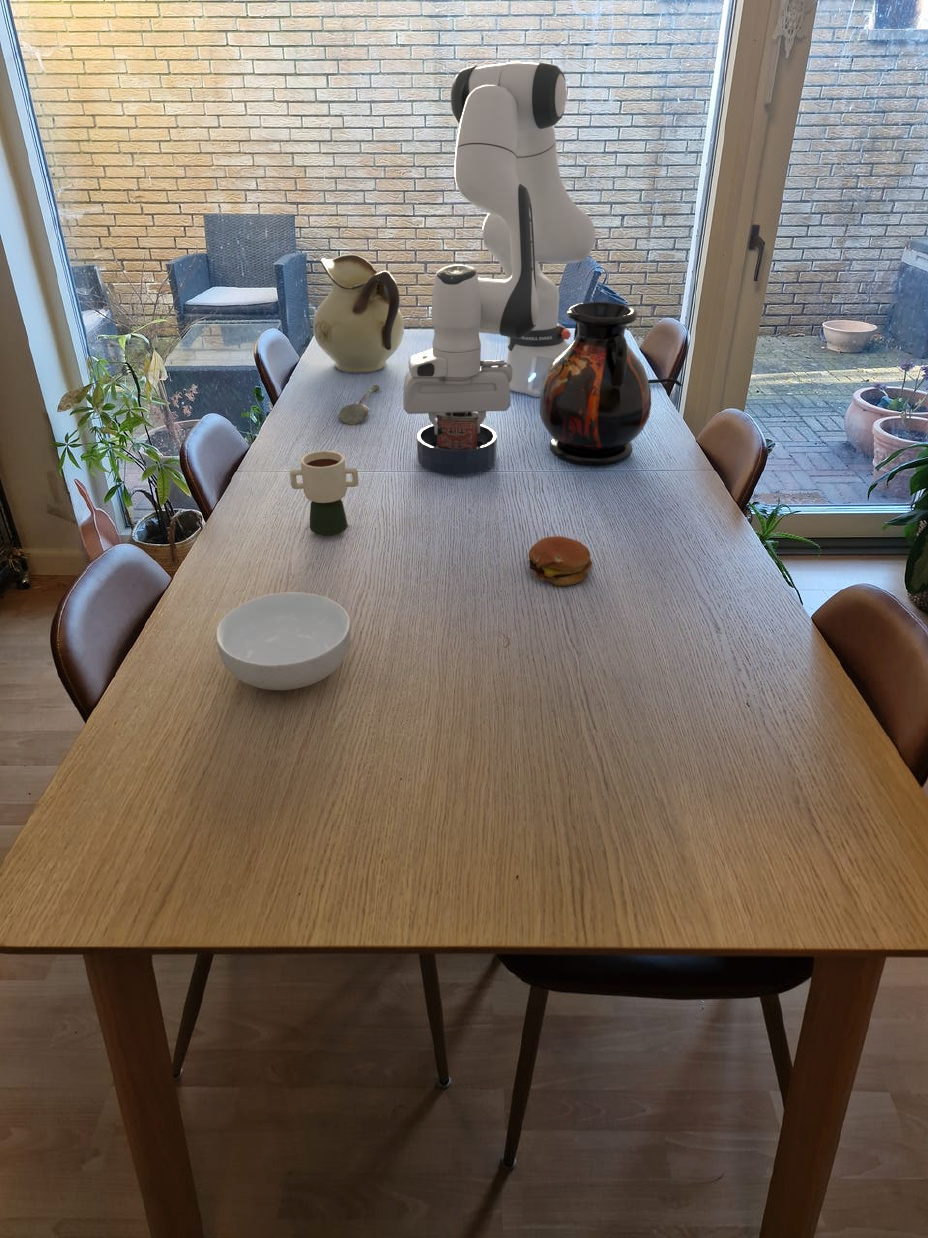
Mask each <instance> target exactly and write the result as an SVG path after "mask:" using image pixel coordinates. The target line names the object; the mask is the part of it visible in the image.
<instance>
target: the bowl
mask: <svg viewBox="0 0 928 1238" xmlns="http://www.w3.org/2000/svg"><path fill="white" fill-rule="evenodd" d="M497 442H498V436H497V433H496V431H494V430H493V429H492V428H491V427H488V426H487V425H484V424H481V425H480V433H477V447H478V448H472V449H466V450H450V449H441V448H437V447H436V445H437V435H435V433H434V426H433V424H430V425H427V426H425V427H423V428H421V429H420V430H419V431H418V433H417V434H416V443H417V444H416V445H417V447H416V448H417V462H418V464H419V466H421V468H423V469H424V470H426V471H428V472H431V473H435V474H439V475H444V476H445V475H446V476H468V475H469V476H470V475H475V474H479V473H482V472H485V471H488V470H489V469H491V468H492V467H493V466H495V464H496V462H497V445H498V443H497Z"/></svg>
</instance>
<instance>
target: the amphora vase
mask: <svg viewBox="0 0 928 1238" xmlns="http://www.w3.org/2000/svg"><path fill="white" fill-rule="evenodd" d="M566 313H567V314H566V315H567V317H568V318H569V319H570V320H571V321H572V322H575V327H574V334H573V340H572V341H571V343H569V344H570V345H569V346H568V347H567V348H566V349H565V350H564V351H563V352H562V353H561V354H560V355H559V356H558V357H557V358H556V359H555V361H554V362H553V363H552V365H551V366H550V368H549V370H548V372H547V373H546V376H545V378H544V381H543V383H542V388H541V392H540V397H539V416H540V420H541V422H542V425H543V426H544V427H545V429H546V431H547V432H548V434H549V435H550V436H551V437H552V438H551V440H550V441H549V451H550V452H551V453H552V455H553V456H554V457H556V458H557V459H558V460H560V461H563V462H565V463H567V464H569V465H574V466H578V467H586V468H602V467H603V468H607V467H610V466H616V465H618V464H620V463H624V462H625V461H626V460H628V459H629V458H630V457H631V455H632V453H633V450H634V448H633V444H632V441H634V440H635V439H636V438H637V437H638V436H639V435H640V434H641V433H642V431H643V430H644V428H645V426H646V424H647V423H648V420H649V418H650V415H651V408H652V391H651V387H650V383H649V381H648V380H649V377H648V375H647V372H646V369H645V367H644V365H643V363H642V361H640V359H639V358H638V357H637V355H636V353H634V351H633V350H632V349H631V347H630V346H629V344H628V342H627V339H626V337H625V332H626V327H627V326H628V325H629V324H632V323H634V322H636V320H637V319H638V317H639V314H638V311H637V310H636V309H635V308H633V307H632V306H629V305H626V304H622V303H617V302H608V301H589V302H581V303H576V304H574V305H572V306H570V308H568V309H567V312H566Z"/></svg>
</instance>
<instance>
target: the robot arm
mask: <svg viewBox="0 0 928 1238" xmlns="http://www.w3.org/2000/svg"><path fill="white" fill-rule="evenodd" d="M567 100H568V87H567V82H566V77H565V74H564V72H563V70H561V68H560V67H559V66H558V65H556V64H554V63H550V62H544V61H540V62H539V63H535V62H525V61H523V62H522V61H508V62H506V63H496V64H489V65H488V64H487V65H483V66H478V65H473V66H469V67H465V68H463V69H461V70H459V72H458V73H457V74H456V76H455V77H454V79H453V81H452V83H451V89H450V107H451V112H452V116H453V118H454V120H455V121H456V122H457V124H458V125H459V127H458V133H457V138H456V145H455V146H456V147H455V154H454V181H455V184H456V187H457V190H458V191H459V193H460V194H461V195H462V197H463V198H464V199H465V200H466V201H467V202H469V204H471V205H473V206H474V207H476V208H477V209H480V210H481V211H483V212H485V213H487V215H486V217H485V218H484V221H483V226H482V230H481V232H482V240H483V243H484V245H485V247H486V249H487V251H488V252H489V253H490V254H491V255H492V256H493V257H494V258H495V259H496V260H497V262H498V263H499V265H500V266H501V268H502V271H503V272H504V275H505V277H506V279H500V278H483V277H480V276H479V274H478V272H477V270H476V269H475V268H474V267H472V266H470V265H466V264H451V265H448V266H444V267H442V268H440V269H439V270H438V271H436V273H435V276H434V281H433V288H432V299H431V323H432V326H433V333H434V334H433V339H432V344H431V345H432V346H431V349H428V350H425V351H423V352H419V353H417V354H413V355H411V356H410V357H409V360H408V371H407V373H406V375H405V378H404V384H403V393H402V394H403V395H402V407H403V410H404V411H405V413H406V414H408V415H419V414H423V415H424V414H427V415H428V420H429V421H430V423H431V425H433V426H434V433H435V435H442V426H440V425H438V424H437V418H436V413H454V412H475V413H478V415H479V416H478V420H477V433H480V425H481V424H482V423H484V421H485V419H486V417H487V412H506V411H508V409H509V408H510V407H511V392H516V393H520V394H521V393H522V394H526V395H529V396H531V397H533V398H540V392H541V388H542V383H543V381H544V378H545V376H546V373H547V372H548V370H549V368H550V366H551V365H552V363H553V362H554V361H555V359H556V358H557V357H558V356H559V355H560V354H561V353H562V352H563V351H564V350H565V349H566V348H567V347H568V346H569V345H570V344H571V343H569V342H568V341H567V340H570V338H571V337H572V332H571V331H570V330H569V329H568V328H566V326H564V325H562V323H559V313H560V312H559V311H560V292H559V288H558V286H557V285H556V283H555V282H553V281H552V280H551V279H550V278H549V277H547V276H546V275H545V274H544V273H543V271H542V269H541V267H540V263H548V264H557V265H566V264H574V263H581V262H584V261H585V260H586V259H587V258H588V257H589V256H590V254H591V252H592V251H593V249H594V245H595V241H596V229H595V225H594V223H593V220H592V219H591V217H590V215H588V214H587V213H585V212H584V211H583V210H582V209H580V207H578V206H577V205H576V203H575V202H574V201H573V199H572V198H571V196H570V194H569V193H568V191H567V190H566V188H565V186H564V183H563V181H562V176H561V173H560V167H559V161H558V151H557V140H556V139H557V138H556V130H555V129H556V128H555V126H556V125H557V123H559V121H560V120H561V119H562V118H563V116H564V114H565V110H566V106H567ZM480 334H489V335H500V336H502V337H507V338H506V341H507V342H506V345H507V358H506V362H505V360H504V359H497V360H481V359H482V357H481V356H482V354H481V353H482V349H481V348H482V343H481V339H480ZM648 381H649V384H659V383H660V384H661V383H674V384H675V385H676V386H678V387H682V386H683V384H682V383H681V382H680V381H679V380H678V379H675V378H672V377H665V378H657V379H654V378H653V379H648ZM482 425H483V424H482Z"/></svg>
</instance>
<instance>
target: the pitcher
mask: <svg viewBox="0 0 928 1238" xmlns="http://www.w3.org/2000/svg"><path fill="white" fill-rule="evenodd" d="M320 263H321V265H322V268H323V270H324V271H325V273H326V275H327V276H328V277H329V279H330V280H331V282H332V288H331V290H330V292H329V294H327V296H326V297H325V299H323V301H322V302H321V303H320V305H319V306H318V307H317V310H316V312H315V314H314V317H313V321H312V331H313V336H314V338H315V341H316V343H317V344H318V346H319V348H320V349H321V351H323V352H324V353H325V354H326V355H327V356H328V357H329V358H330V359H331V360H332V361H333V362H334V364H335V367H336V368H337V369H338V370H339V371H342V372H346V373H358V374H359V373H371V372H376V371H379V370H381V369H383V368H385V366H386V363H387V360H389V359H390V358H391V357H392V356H393V355H394V354H395V352H396V351H397V350H398V349H399V347H400V345H401V343H402V341H403V337H404V333H405V322H404V317H403V315H402V311H400V309H399V308H400V291H399V288H398V285H397V282H396V280H395V279H394V277H393V276H392V274H391V273H390V272H389V271H388V270H383V271H380V272H378V271H377V270H376V269H375V268H374V266H373V264H372V263H371V262H369V261H368V260H367V259H366V258H364V257H361V256H360V255H357V254H353V253H352V254H343V255H340V256H337V257H335V258H331V259H327V258H321V261H320Z"/></svg>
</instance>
